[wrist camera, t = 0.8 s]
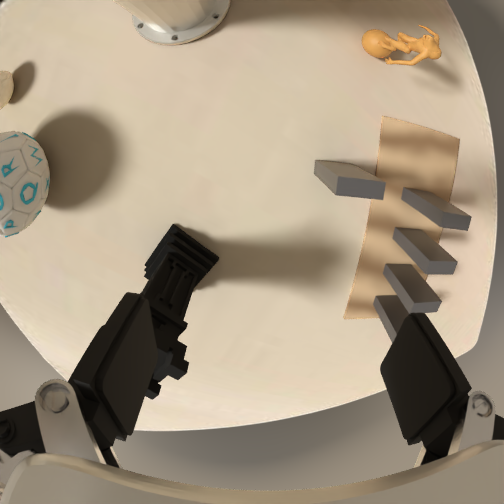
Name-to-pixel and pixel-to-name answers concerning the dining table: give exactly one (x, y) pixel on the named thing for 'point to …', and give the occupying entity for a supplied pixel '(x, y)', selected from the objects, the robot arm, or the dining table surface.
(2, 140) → the puzzle ball
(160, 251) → the chess piece
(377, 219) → the cork mat
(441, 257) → the domino
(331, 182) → the domino
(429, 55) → the figurine
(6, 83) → the cream round ball
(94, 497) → the robot arm
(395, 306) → the domino
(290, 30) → the dining table surface
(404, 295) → the domino
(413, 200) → the domino
